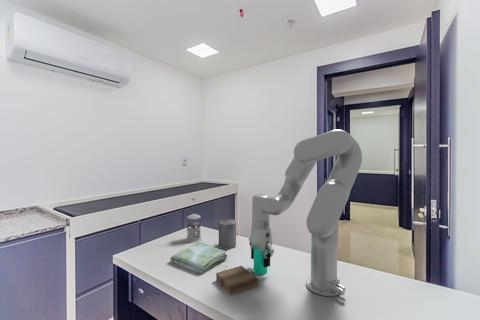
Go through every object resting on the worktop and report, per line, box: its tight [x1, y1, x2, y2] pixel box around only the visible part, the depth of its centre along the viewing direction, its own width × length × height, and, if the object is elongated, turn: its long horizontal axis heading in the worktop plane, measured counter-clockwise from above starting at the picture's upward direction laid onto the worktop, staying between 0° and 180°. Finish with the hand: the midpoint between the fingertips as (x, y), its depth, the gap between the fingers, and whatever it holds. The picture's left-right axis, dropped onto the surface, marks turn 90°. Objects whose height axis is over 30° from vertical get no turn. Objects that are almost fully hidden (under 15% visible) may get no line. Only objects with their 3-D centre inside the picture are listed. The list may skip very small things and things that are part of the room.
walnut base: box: [215, 265, 259, 296], centre depth 94 cm, size 12×12×3 cm
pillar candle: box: [218, 218, 237, 250], centre depth 131 cm, size 10×10×15 cm
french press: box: [185, 197, 203, 244], centre depth 141 cm, size 10×12×25 cm
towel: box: [170, 241, 228, 275], centre depth 113 cm, size 18×21×5 cm
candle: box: [253, 247, 268, 275], centre depth 104 cm, size 6×6×12 cm
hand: (260, 262), depth 104 cm, fingers open, 8 cm apart
